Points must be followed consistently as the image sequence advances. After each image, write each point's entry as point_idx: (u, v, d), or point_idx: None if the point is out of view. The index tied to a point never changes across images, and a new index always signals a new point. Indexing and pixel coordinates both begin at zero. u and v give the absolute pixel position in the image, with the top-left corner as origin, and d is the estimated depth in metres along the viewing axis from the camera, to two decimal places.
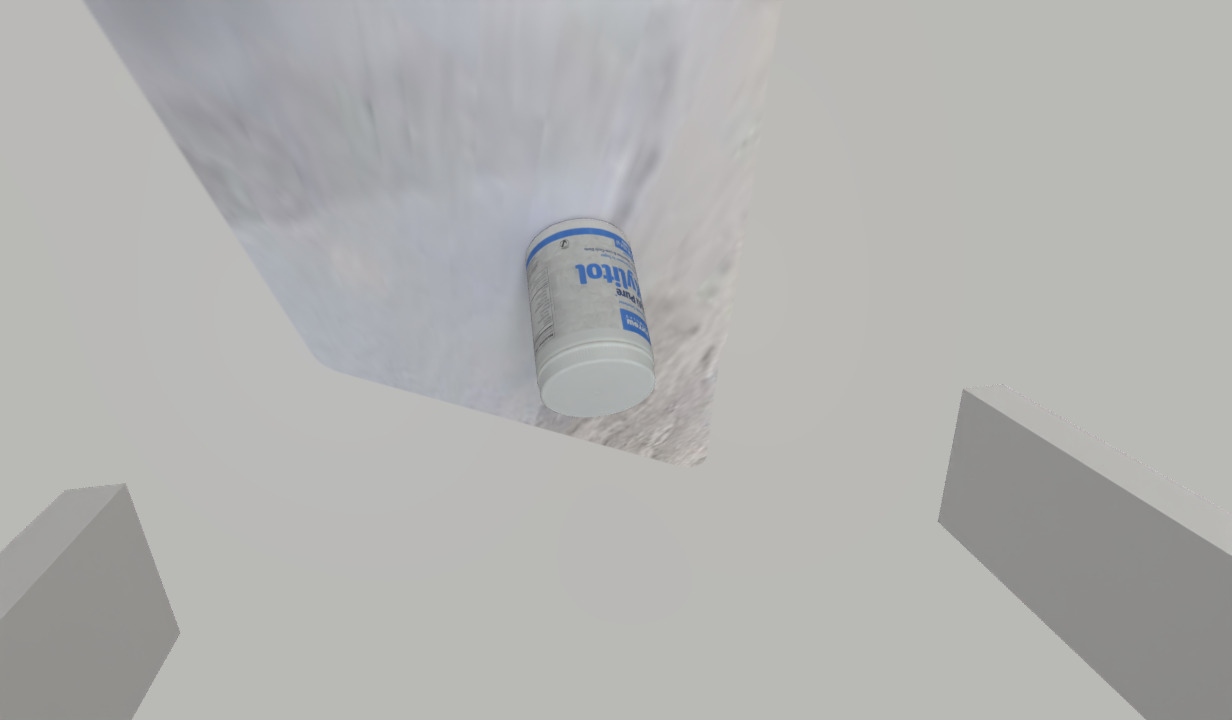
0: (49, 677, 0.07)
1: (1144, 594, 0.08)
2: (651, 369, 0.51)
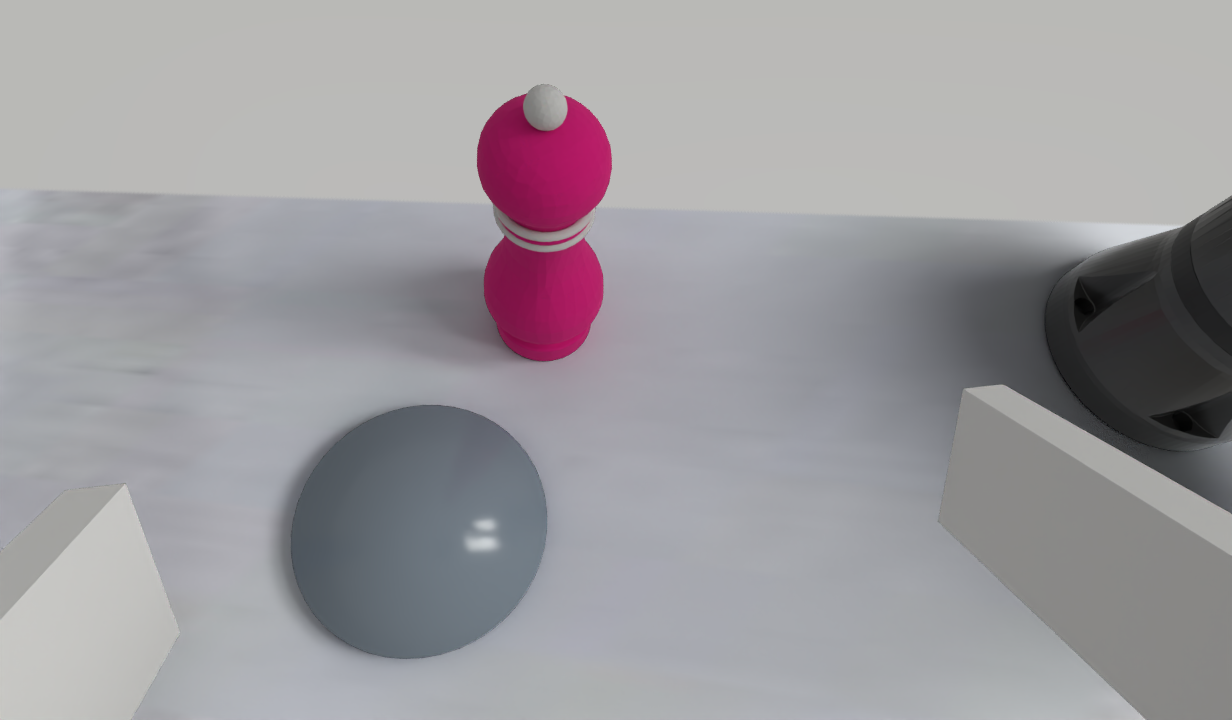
0: (49, 677, 0.07)
1: (1144, 594, 0.08)
2: None
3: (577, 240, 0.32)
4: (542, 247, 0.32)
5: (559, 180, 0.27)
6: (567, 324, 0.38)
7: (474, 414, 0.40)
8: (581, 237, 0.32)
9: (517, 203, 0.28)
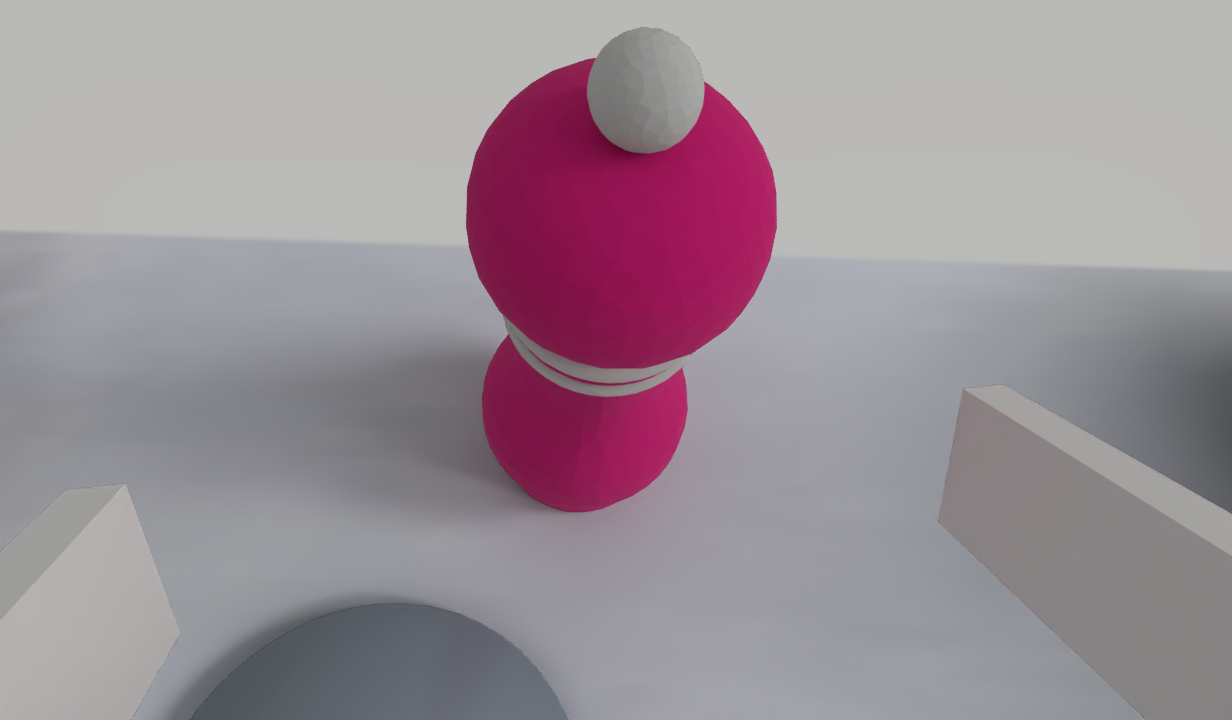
0: (49, 677, 0.07)
1: (1144, 594, 0.08)
2: None
3: (674, 370, 0.16)
4: (604, 389, 0.15)
5: (673, 280, 0.11)
6: (630, 483, 0.21)
7: (464, 619, 0.24)
8: (682, 364, 0.16)
9: (564, 327, 0.11)
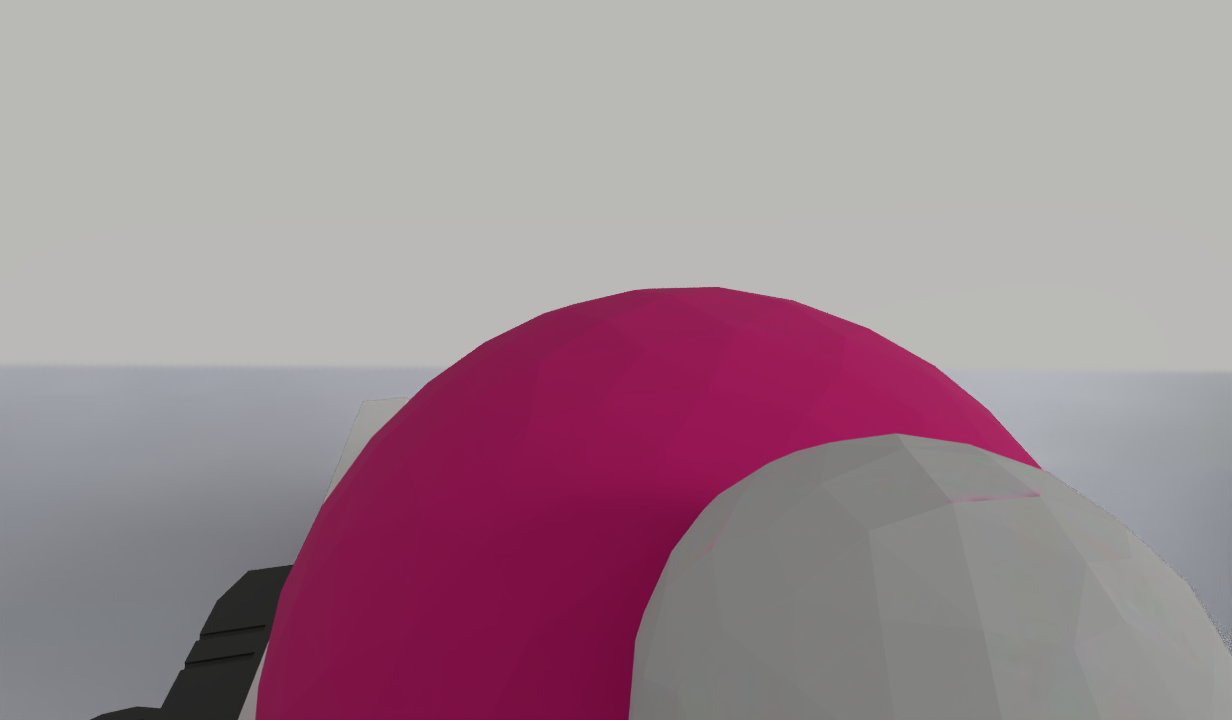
0: None
1: None
2: None
3: None
4: None
5: None
6: None
7: None
8: None
9: None
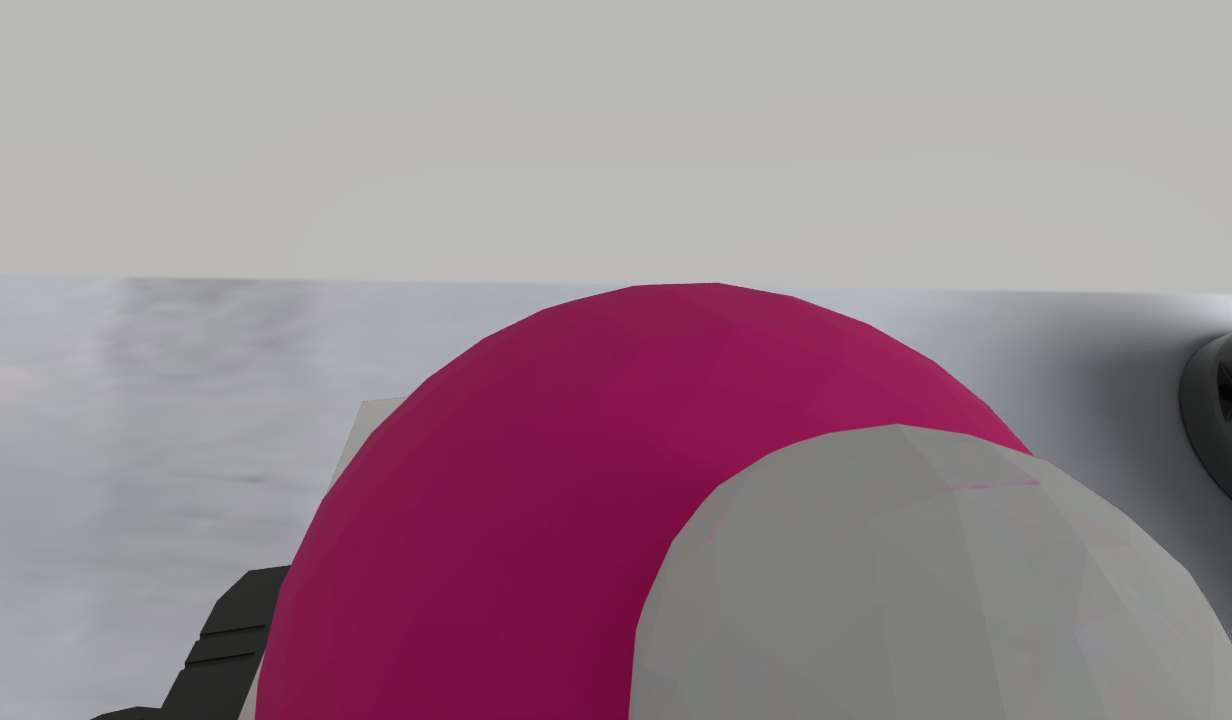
0: None
1: None
2: None
3: None
4: None
5: None
6: None
7: None
8: None
9: None
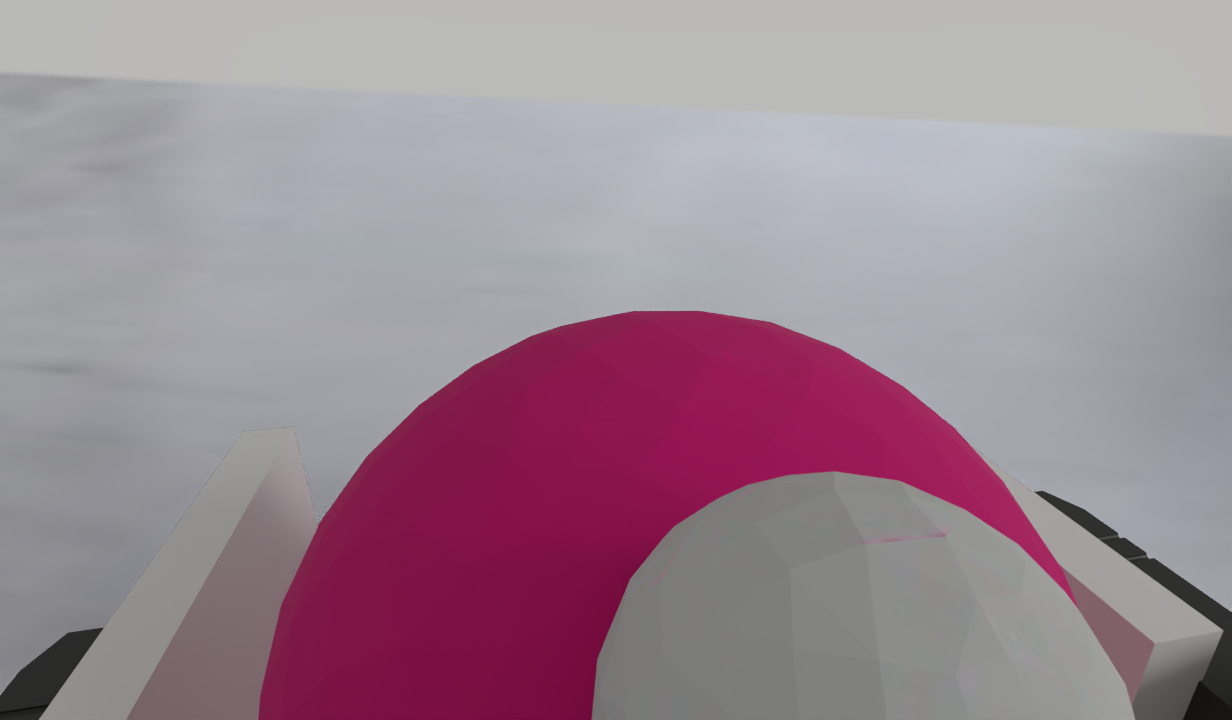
0: (263, 577, 0.09)
1: None
2: None
3: None
4: None
5: None
6: None
7: None
8: None
9: None
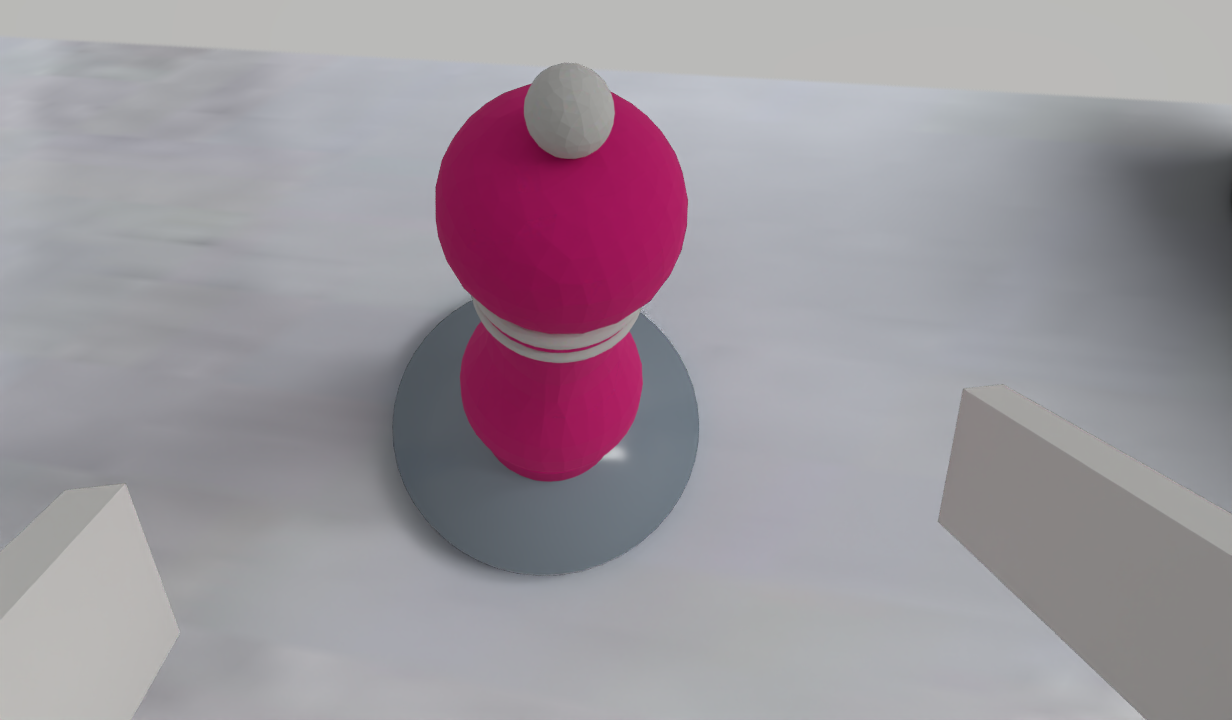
0: (49, 677, 0.07)
1: (1144, 594, 0.08)
2: None
3: (616, 340, 0.19)
4: (556, 356, 0.18)
5: (596, 258, 0.14)
6: (590, 448, 0.24)
7: None
8: (623, 335, 0.19)
9: (513, 297, 0.14)
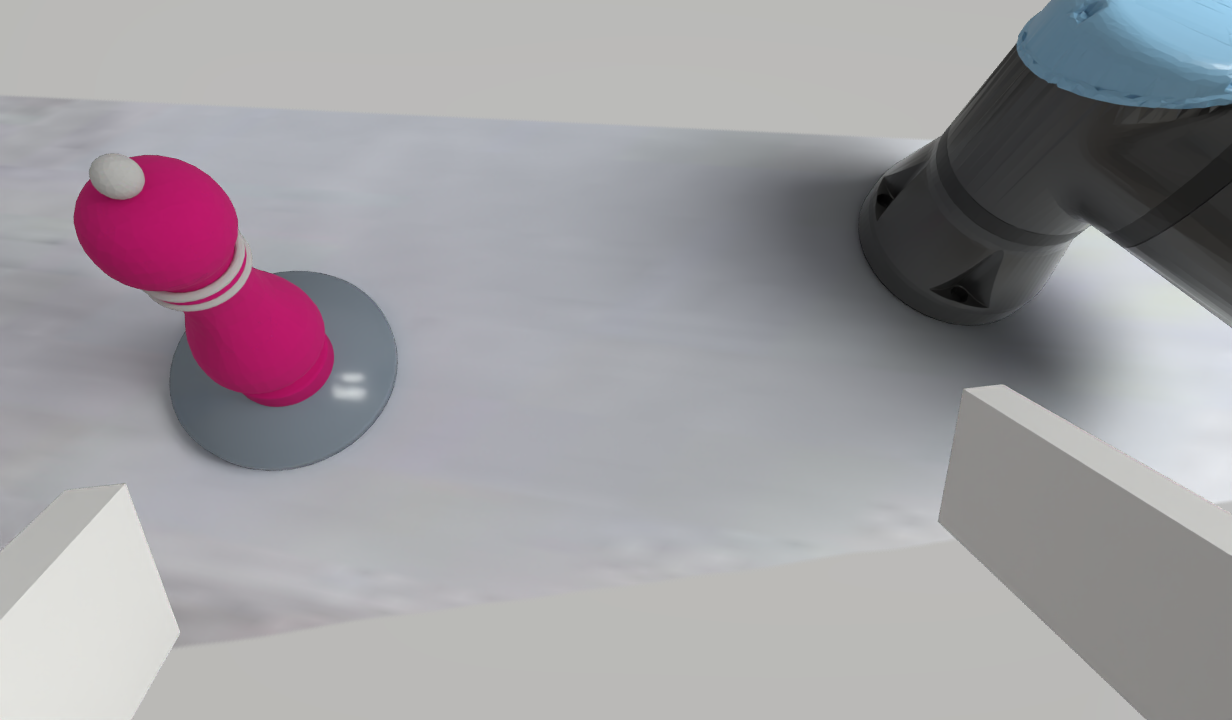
0: (49, 677, 0.07)
1: (1144, 594, 0.08)
2: None
3: (223, 299, 0.32)
4: (182, 307, 0.31)
5: (140, 249, 0.27)
6: (267, 375, 0.38)
7: (338, 279, 0.47)
8: (228, 296, 0.32)
9: (109, 269, 0.28)
